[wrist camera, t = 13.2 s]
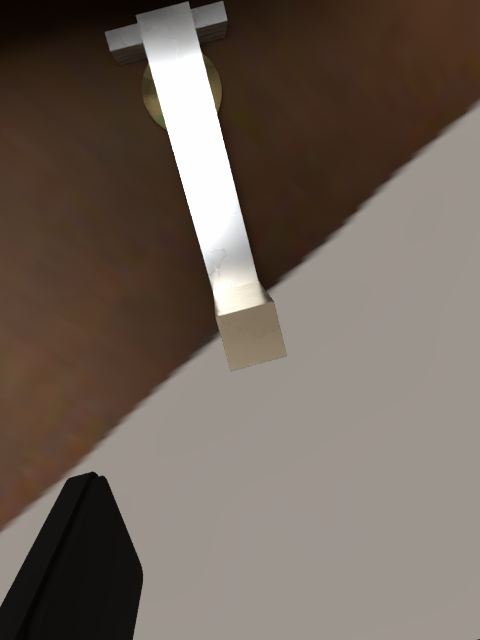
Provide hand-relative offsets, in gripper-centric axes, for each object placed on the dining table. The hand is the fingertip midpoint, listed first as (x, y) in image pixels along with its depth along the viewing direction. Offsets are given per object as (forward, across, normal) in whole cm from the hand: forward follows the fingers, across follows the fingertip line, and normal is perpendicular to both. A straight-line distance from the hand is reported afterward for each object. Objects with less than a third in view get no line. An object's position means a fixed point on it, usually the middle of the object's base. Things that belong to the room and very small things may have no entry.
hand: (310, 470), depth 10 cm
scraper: (+22, 0, -8) cm, 23 cm away
